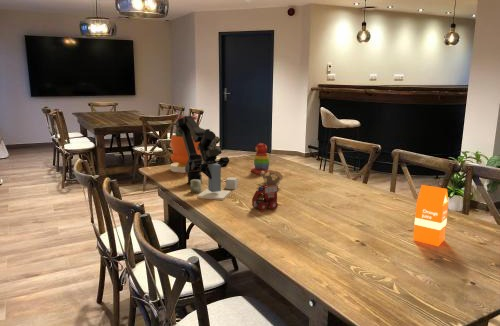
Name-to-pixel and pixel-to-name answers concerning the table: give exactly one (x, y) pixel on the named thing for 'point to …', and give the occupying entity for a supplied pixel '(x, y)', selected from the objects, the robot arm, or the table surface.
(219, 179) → the tall block
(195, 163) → the robot arm
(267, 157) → the stacking bear
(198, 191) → the sage cylinder
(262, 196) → the toy fire truck
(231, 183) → the white cube
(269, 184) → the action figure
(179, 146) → the potted cactus
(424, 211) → the orange juice
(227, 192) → the plate
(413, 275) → the table surface
